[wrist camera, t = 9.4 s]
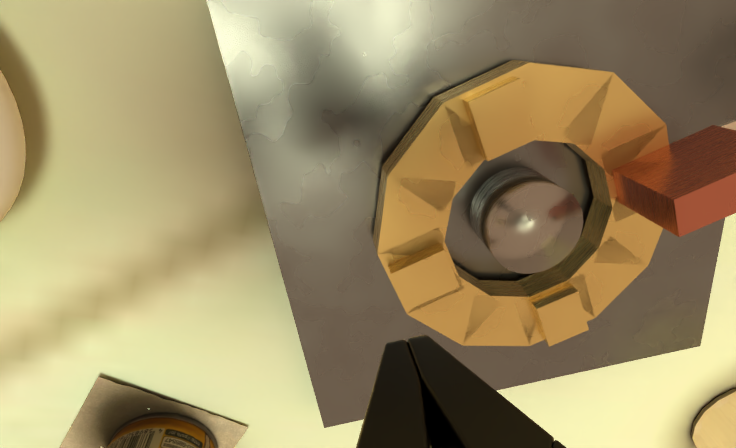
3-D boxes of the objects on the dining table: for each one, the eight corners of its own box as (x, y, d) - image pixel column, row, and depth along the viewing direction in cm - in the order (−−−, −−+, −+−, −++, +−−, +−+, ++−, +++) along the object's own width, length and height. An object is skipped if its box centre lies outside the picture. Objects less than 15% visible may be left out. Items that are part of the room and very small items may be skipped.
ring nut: (434, 364, 24) (463, 443, 19) (327, 147, 18) (334, 186, 14) (701, 249, 23) (797, 303, 18) (671, -15, 18) (796, -27, 13)
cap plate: (209, -14, 17) (184, -24, 14) (753, -105, 18) (864, -137, 15) (323, 406, 26) (326, 468, 23) (680, 329, 28) (737, 376, 24)
